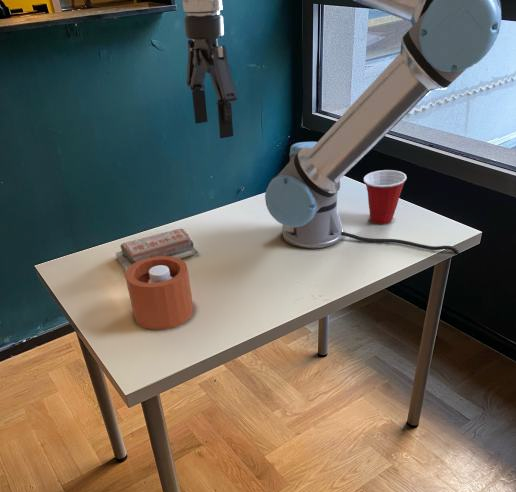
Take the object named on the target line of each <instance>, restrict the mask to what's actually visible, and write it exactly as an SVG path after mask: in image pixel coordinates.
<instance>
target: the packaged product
mask: <svg viewBox="0 0 516 492" xmlns="http://www.w3.org/2000/svg"><path fill="white" fill-rule="evenodd" d="M120 249H121V250H119V251H115V254H114V255H115V256H116V258H117V260H118V261H119V263H120V264H121V266H122V267H123V269H124V270H125V272H126V271H127V269H128V268H129V267H130V266H131V265H133V264H134V263H136V262H138V261H140V260H143V259H146V258H150V257H157V256H170V257H175V258H178V259H180V260H182V259H185V258H187V257H188V258H189V257H191V256H195V255H198V253H199V252H198V250H197V249H196V248H195V247H194V241H193V239H192V237H191V236H190V234H188V233H187V231H186V230H185V229H184V228H177V229H174V230H169V231H165V232H161V233H157V234H154V235H150V236H146V237H142V238H138V239H134V240H130V241H127V242H123V243H121V244H120Z"/></svg>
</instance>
